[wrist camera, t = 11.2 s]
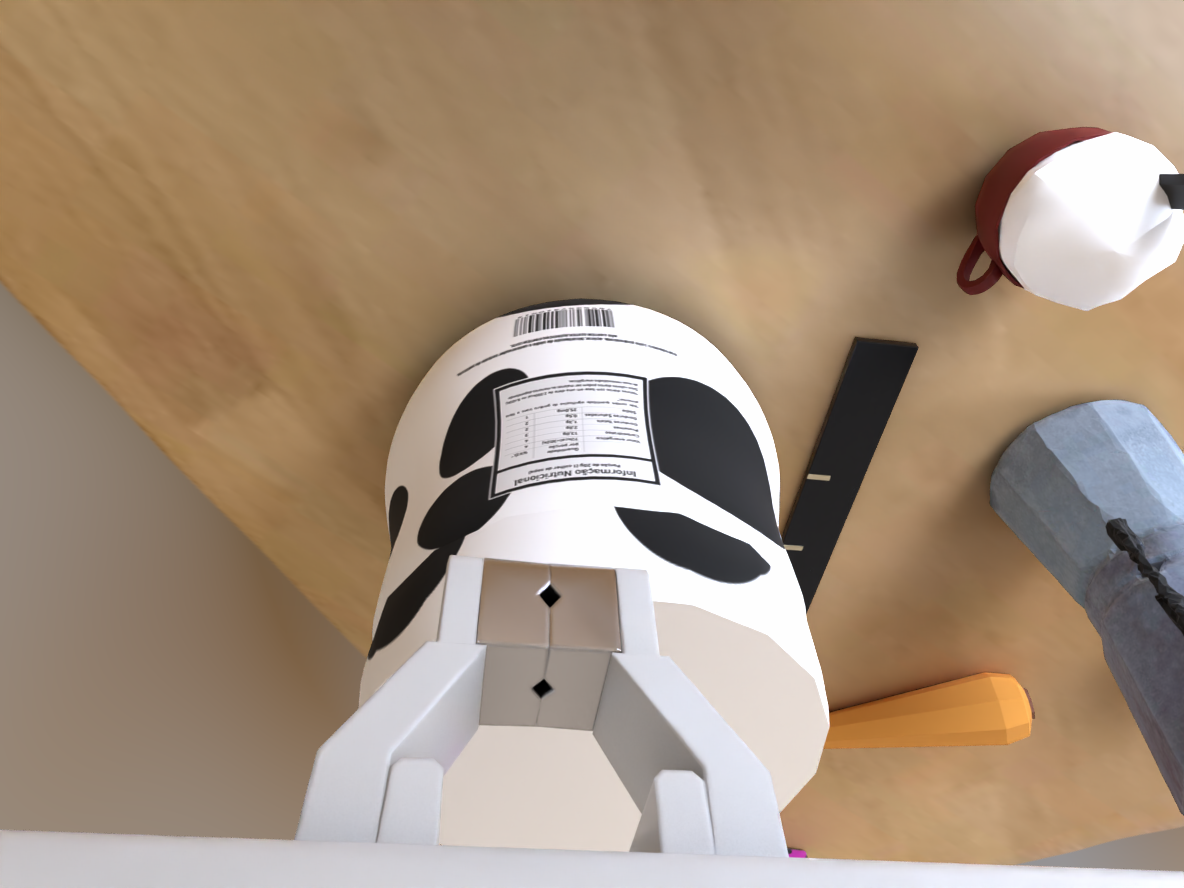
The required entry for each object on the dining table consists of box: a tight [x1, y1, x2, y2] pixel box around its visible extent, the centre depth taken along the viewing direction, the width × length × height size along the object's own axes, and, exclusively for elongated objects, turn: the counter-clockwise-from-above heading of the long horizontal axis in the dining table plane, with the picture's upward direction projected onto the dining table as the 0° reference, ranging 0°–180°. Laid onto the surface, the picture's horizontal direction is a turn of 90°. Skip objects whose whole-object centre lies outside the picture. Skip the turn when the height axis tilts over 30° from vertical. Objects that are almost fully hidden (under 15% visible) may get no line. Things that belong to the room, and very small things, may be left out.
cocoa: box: [957, 127, 1184, 311], centre depth 30 cm, size 10×6×12 cm, turn 111°
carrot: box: [823, 672, 1035, 749], centre depth 55 cm, size 20×4×4 cm, turn 109°
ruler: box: [782, 337, 918, 614], centre depth 46 cm, size 26×3×1 cm, turn 172°
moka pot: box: [990, 400, 1184, 815], centre depth 36 cm, size 10×15×20 cm, turn 50°
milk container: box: [358, 299, 830, 852], centre depth 34 cm, size 17×17×18 cm
